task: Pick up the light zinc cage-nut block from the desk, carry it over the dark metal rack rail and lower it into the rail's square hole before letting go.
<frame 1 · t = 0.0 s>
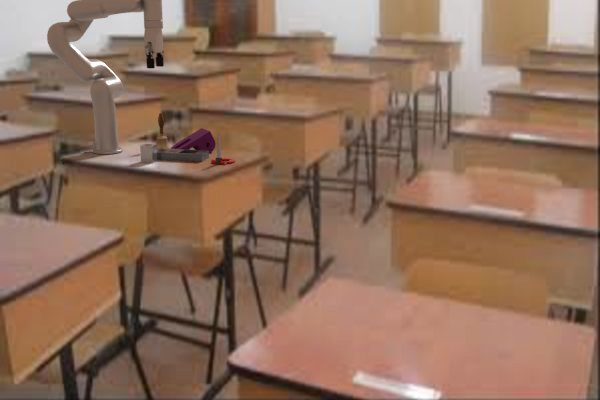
hand: (155, 67, 311), 37 cm above the table, tool pointing down, fingers open, 9 cm apart
hand bell: (162, 149, 332), on the table
red scissors: (224, 162, 305), on the table
cage nut: (149, 161, 305), on the table
rack rail: (180, 158, 312), on the table
mounting bracket: (191, 153, 325), on the table
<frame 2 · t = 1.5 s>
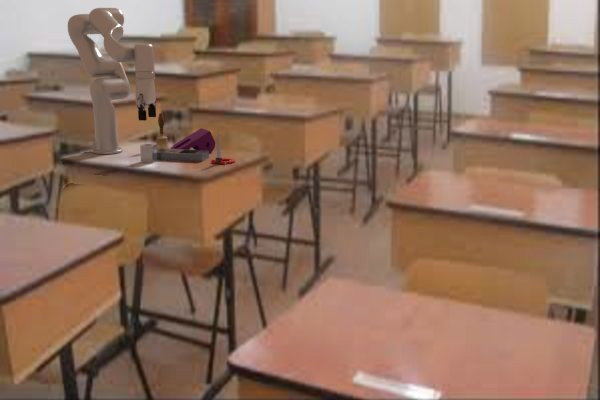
hand: (147, 118, 301), 18 cm above the table, tool pointing down, fingers open, 9 cm apart
nothing on the table moved.
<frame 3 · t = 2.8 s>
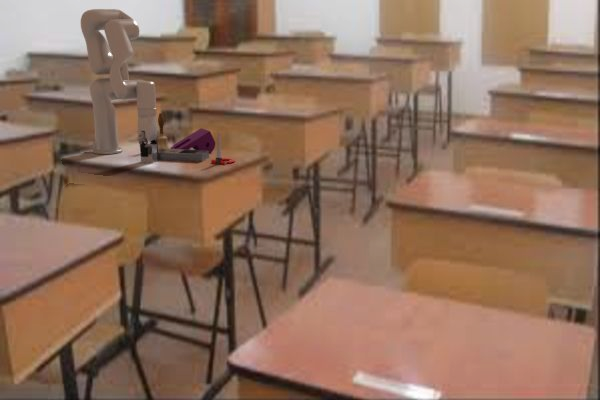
hand: (149, 154, 304), 3 cm above the table, tool pointing down, fingers open, 9 cm apart
nothing on the table moved.
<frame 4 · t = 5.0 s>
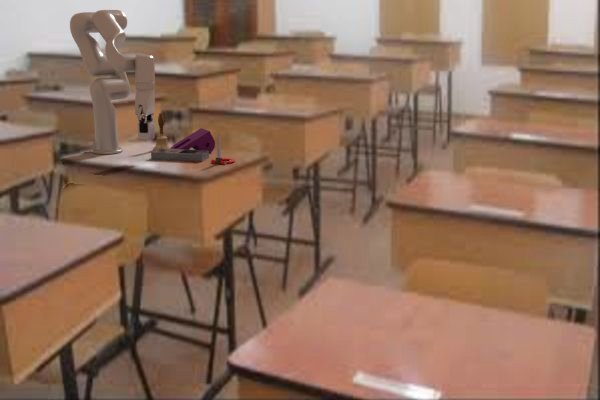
hand: (146, 131, 303), 12 cm above the table, tool pointing down, fingers closed on cage nut, 5 cm apart
cage nut: (146, 138, 304), point 9 cm above the table, touching gripper
everything else where it was.
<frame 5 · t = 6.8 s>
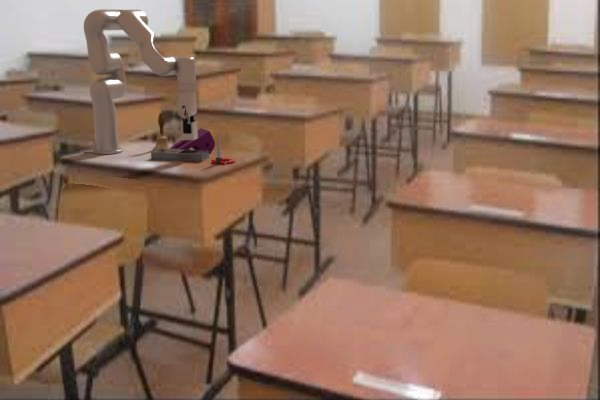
hand: (189, 131, 308), 11 cm above the table, tool pointing down, fingers closed on cage nut, 5 cm apart
cage nut: (190, 139, 309), point 8 cm above the table, touching gripper
everything else where it was.
when the fingers open (4 cm above the table, at t = 8.9 s): cage nut stays where it is, resting in rack rail.
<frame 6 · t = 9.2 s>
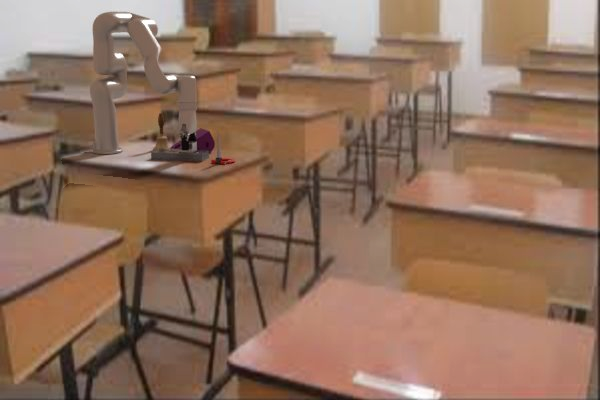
hand: (189, 148, 310), 5 cm above the table, tool pointing down, fingers open, 8 cm apart
cage nut: (189, 159, 311), resting in rack rail
everything else where it was.
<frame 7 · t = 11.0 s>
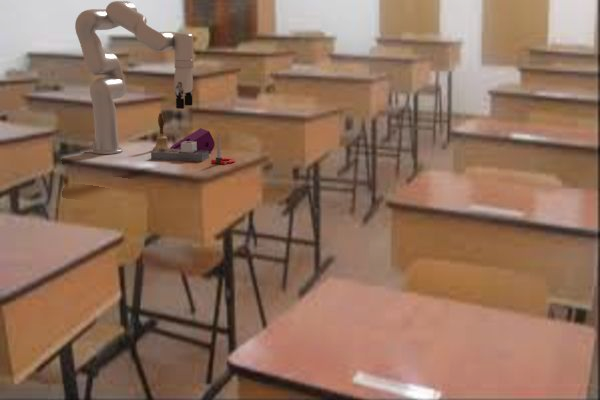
hand: (184, 106, 306), 22 cm above the table, tool pointing down, fingers open, 9 cm apart
nothing on the table moved.
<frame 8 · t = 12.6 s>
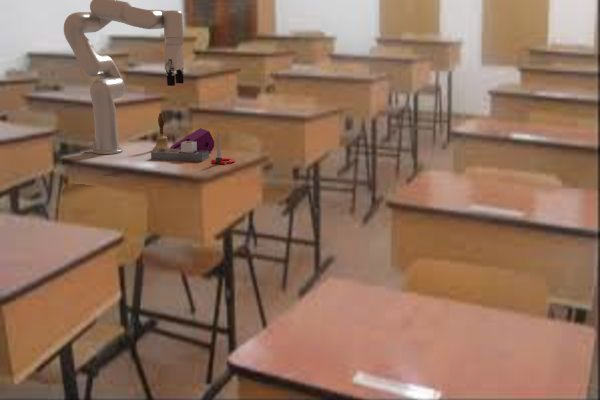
hand: (175, 84, 307), 30 cm above the table, tool pointing down, fingers open, 9 cm apart
nothing on the table moved.
at the end: cage nut 0.1 cm from the target spot on the rack rail, point 0.0 cm above the rack rail's base; cage nut tilted 0°; the gripper is holding nothing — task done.
